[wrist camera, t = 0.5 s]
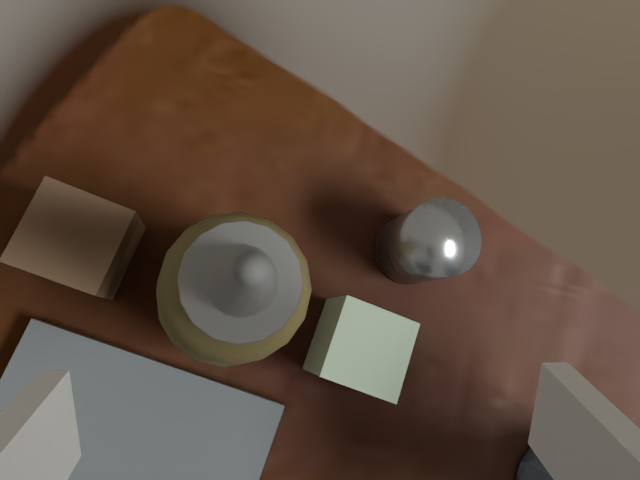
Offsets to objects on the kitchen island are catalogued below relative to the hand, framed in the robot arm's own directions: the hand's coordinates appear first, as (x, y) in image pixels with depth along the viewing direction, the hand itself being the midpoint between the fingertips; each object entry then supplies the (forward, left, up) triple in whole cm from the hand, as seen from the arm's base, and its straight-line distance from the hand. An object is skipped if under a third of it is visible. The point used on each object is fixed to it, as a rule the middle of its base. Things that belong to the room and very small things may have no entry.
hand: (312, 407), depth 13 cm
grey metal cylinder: (+11, -8, -18) cm, 23 cm away
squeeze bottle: (+3, +3, -19) cm, 19 cm away
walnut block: (+3, +12, -18) cm, 22 cm away
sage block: (+3, -6, -18) cm, 20 cm away
